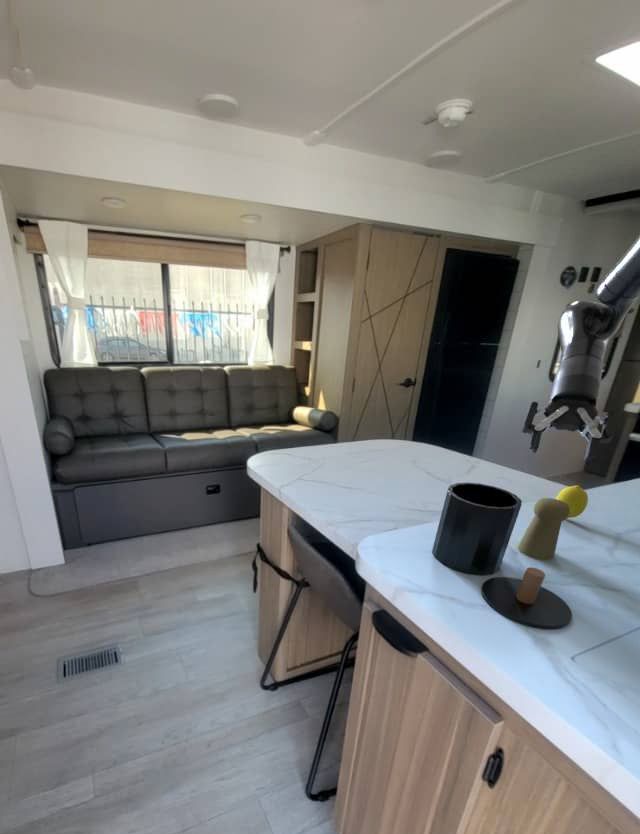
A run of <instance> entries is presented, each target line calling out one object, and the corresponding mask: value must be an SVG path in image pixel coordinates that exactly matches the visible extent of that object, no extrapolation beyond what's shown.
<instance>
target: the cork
mask: <svg viewBox="0 0 640 834" xmlns="http://www.w3.org/2000/svg"><path fill="white" fill-rule="evenodd" d="M569 511H570V508H569V506H568V505H567V504H566V503H565V502H563V501H560V500H557V499H556V498H551V497H543V498H542V497H541V498H540V499H538V500H536V502H535V503H534V506H533V513H534V516H533V517H532V519H531V521H530V522H529V524H528V526H527V528H526V530H525V532H524V534H523V535H522V537H521V539H520V541H519V542H518V544H517V550H518V551H519V552H520V553H521V554H523V555H524V556H527V557H529V558H532V559H534V560H539V561H540V560H541V561H550V560H553V559H554V558H555V554H556V549H557V545H558V542H559V541H558V540H559V535H560V530H561V527H562V522H563V521H565V520H567V519H568V518H567V517H568V515H569ZM566 518H567V519H566Z"/></svg>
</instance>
